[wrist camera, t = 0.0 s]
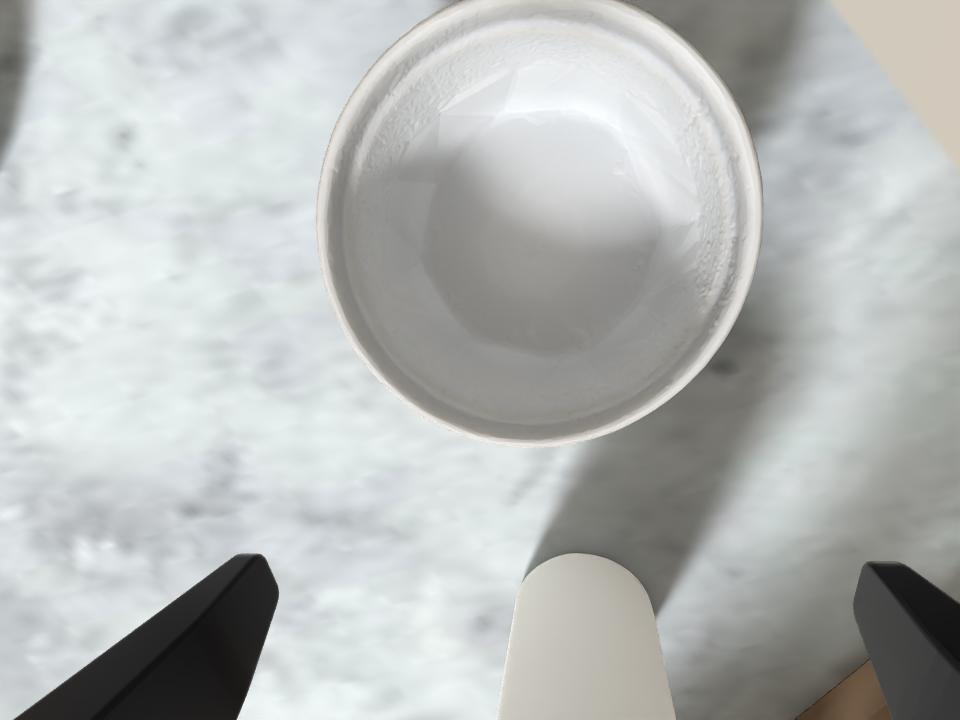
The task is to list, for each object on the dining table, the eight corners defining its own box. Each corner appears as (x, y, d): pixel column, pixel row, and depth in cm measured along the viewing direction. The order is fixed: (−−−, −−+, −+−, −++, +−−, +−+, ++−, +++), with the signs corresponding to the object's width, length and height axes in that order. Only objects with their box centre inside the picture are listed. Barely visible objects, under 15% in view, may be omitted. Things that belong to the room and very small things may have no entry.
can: (615, 528, 24) (652, 793, 13) (675, 641, 25) (760, 986, 14) (493, 574, 26) (429, 843, 14) (553, 678, 27) (536, 1014, 15)
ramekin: (341, 144, 23) (243, 106, 16) (647, -2, 19) (685, -126, 13) (452, 424, 25) (406, 494, 18) (745, 333, 21) (822, 377, 15)
